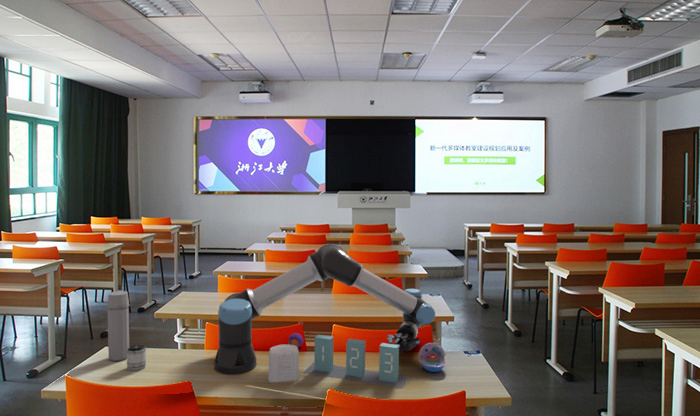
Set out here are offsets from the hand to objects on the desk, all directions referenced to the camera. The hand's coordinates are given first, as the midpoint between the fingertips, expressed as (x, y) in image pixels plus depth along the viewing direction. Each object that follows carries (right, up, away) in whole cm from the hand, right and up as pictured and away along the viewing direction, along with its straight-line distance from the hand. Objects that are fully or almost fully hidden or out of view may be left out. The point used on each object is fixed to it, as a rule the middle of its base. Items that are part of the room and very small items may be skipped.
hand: (393, 354), depth 170 cm
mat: (-14, -7, -2) cm, 15 cm away
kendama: (-39, -6, +17) cm, 43 cm away
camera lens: (-92, -6, +2) cm, 93 cm away
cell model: (+14, -7, +3) cm, 16 cm away
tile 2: (-14, -6, -2) cm, 15 cm away
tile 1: (-25, -6, +2) cm, 26 cm away
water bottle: (-103, -5, +12) cm, 104 cm away
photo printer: (-38, -7, -7) cm, 40 cm away
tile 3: (-2, -7, -6) cm, 9 cm away
